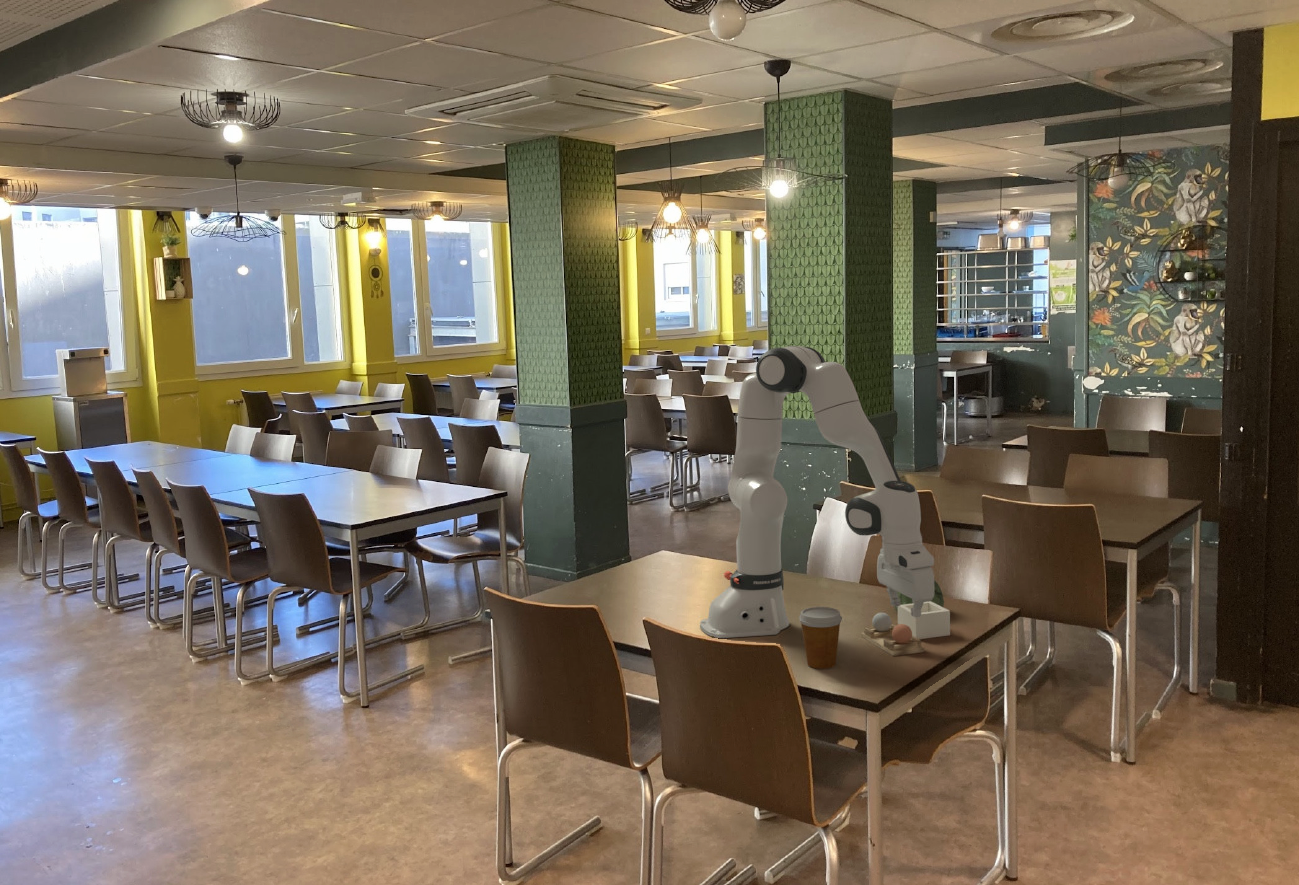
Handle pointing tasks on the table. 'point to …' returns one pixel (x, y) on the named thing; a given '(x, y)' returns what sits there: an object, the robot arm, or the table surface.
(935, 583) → the green rounded piece
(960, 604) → the table surface
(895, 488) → the robot arm
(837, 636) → the disposable coffee cup
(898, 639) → the red ball
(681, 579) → the table surface
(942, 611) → the white open box
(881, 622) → the grey ball
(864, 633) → the rack
